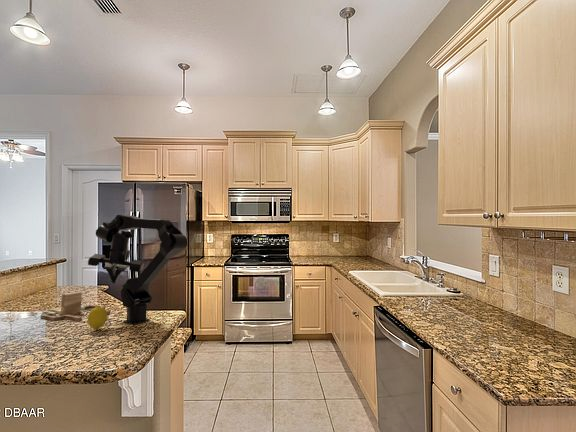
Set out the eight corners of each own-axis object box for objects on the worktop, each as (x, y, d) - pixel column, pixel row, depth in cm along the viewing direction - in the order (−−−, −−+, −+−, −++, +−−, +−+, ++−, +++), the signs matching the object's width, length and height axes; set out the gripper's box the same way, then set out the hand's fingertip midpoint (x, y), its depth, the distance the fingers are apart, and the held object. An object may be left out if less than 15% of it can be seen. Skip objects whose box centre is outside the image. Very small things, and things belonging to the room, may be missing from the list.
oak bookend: (80, 312, 126) (81, 292, 126) (65, 315, 120) (66, 294, 121) (64, 309, 130) (65, 290, 131) (48, 312, 125) (50, 292, 125)
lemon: (110, 327, 104) (111, 304, 105) (98, 332, 99) (99, 307, 99) (95, 327, 105) (96, 303, 105) (82, 332, 99) (84, 307, 100)
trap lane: (118, 311, 126) (118, 308, 126) (67, 323, 108) (67, 320, 108) (83, 306, 136) (83, 303, 136) (31, 316, 118) (31, 313, 118)
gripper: (150, 244, 128) (144, 278, 131) (101, 236, 124) (97, 271, 126) (142, 252, 117) (136, 289, 120) (89, 244, 113) (84, 282, 116)
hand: (114, 282), depth 121 cm, fingers closed
